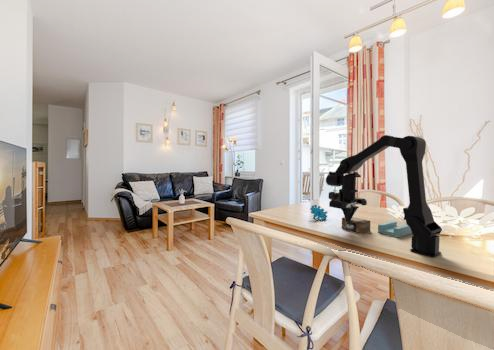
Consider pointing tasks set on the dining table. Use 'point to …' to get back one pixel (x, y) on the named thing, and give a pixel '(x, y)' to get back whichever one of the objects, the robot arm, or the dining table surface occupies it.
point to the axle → (350, 226)
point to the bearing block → (358, 224)
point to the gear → (318, 212)
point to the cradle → (394, 229)
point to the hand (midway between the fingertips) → (347, 221)
